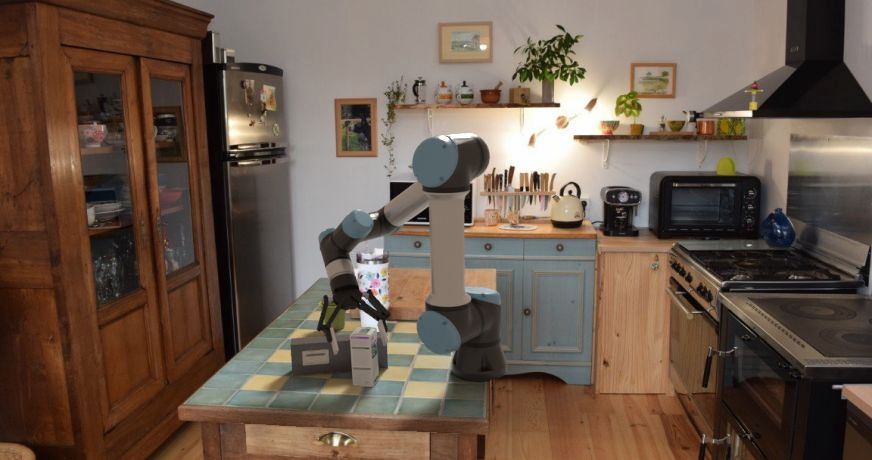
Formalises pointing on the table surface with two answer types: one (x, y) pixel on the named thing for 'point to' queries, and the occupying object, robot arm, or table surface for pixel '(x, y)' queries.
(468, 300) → the robot arm
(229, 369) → the table surface
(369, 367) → the syrup box
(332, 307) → the plant pot
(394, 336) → the table surface
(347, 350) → the box
